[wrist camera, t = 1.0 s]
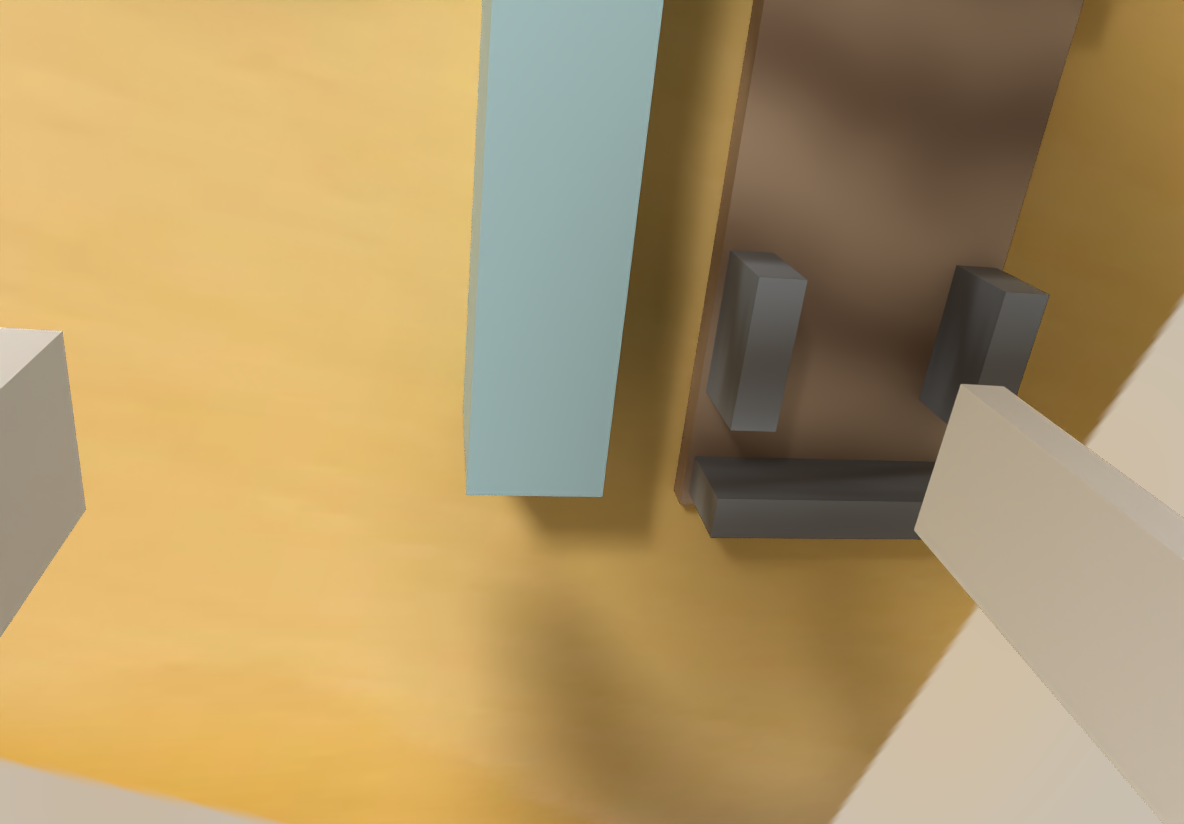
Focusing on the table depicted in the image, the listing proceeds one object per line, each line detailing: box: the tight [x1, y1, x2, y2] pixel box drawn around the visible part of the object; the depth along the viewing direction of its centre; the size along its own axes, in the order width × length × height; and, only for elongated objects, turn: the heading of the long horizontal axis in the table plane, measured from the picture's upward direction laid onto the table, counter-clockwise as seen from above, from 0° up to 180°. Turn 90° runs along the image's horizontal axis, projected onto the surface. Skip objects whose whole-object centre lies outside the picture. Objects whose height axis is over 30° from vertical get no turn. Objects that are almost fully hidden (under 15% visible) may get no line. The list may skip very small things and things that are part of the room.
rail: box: [463, 0, 664, 497], centre depth 24 cm, size 22×4×6 cm, turn 174°
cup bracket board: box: [674, 0, 1084, 539], centre depth 27 cm, size 30×10×4 cm, turn 174°
